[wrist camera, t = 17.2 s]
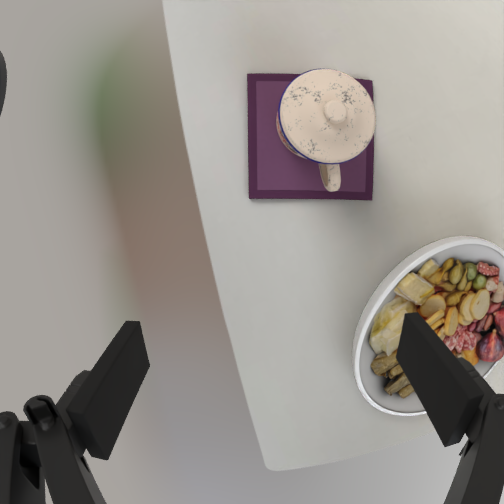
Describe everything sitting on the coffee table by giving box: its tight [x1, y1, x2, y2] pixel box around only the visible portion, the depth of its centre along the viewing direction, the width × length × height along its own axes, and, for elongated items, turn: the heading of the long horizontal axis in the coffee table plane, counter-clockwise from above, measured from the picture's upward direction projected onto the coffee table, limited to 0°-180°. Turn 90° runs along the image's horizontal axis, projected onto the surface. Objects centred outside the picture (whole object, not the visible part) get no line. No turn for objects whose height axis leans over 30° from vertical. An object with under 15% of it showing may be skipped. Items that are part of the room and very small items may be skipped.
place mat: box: [247, 74, 374, 200], centre depth 35 cm, size 15×15×1 cm
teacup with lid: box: [276, 69, 376, 192], centre depth 29 cm, size 12×9×12 cm
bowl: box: [352, 236, 504, 416], centre depth 39 cm, size 30×30×8 cm
